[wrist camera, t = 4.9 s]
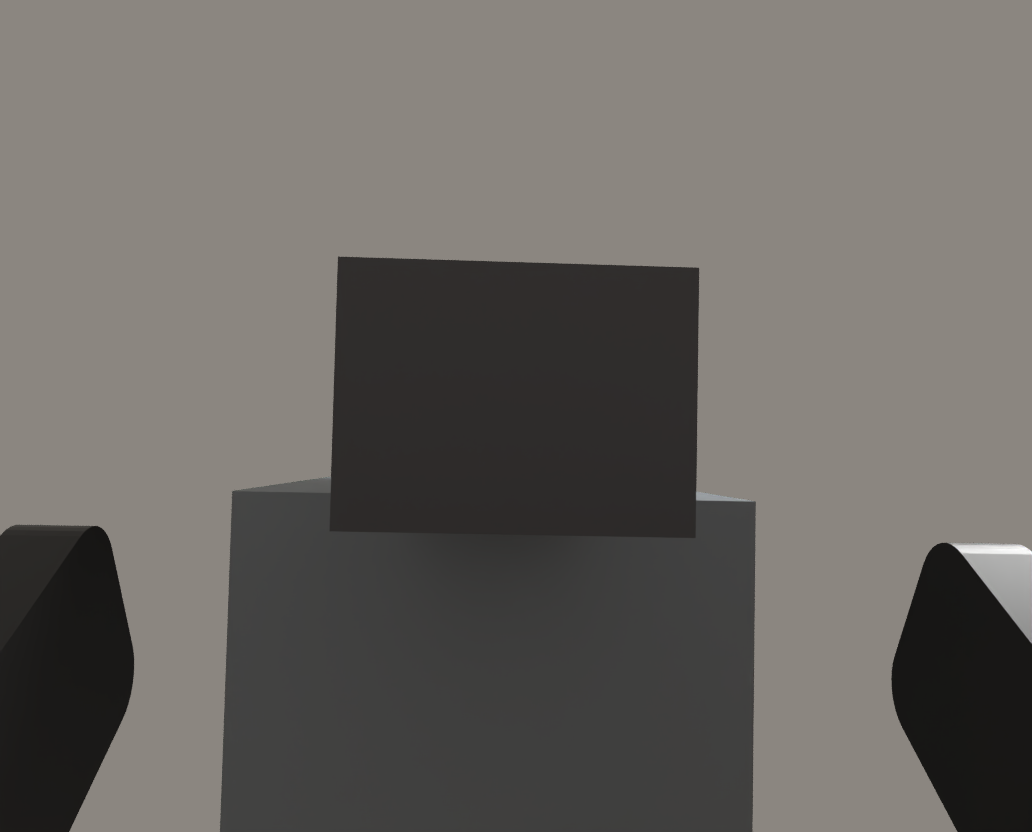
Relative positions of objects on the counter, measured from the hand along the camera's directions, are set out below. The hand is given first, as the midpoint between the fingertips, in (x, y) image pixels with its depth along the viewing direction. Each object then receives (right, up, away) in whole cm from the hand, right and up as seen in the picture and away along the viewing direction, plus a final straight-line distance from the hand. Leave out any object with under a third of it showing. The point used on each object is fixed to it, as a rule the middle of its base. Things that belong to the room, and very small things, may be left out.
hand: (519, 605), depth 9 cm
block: (0, 0, +11) cm, 11 cm away
